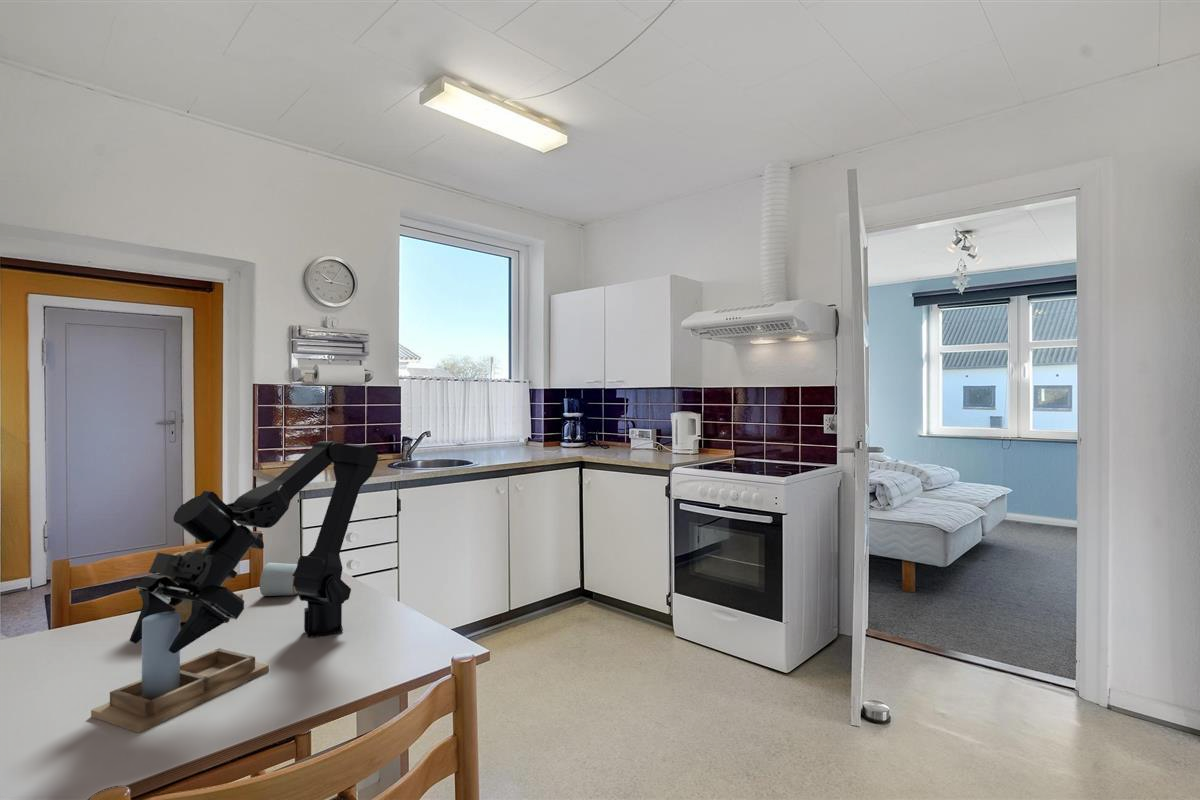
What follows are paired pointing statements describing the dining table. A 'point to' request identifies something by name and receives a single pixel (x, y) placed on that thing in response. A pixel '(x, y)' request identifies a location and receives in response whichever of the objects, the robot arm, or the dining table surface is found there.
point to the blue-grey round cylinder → (160, 654)
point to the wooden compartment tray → (180, 690)
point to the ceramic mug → (278, 579)
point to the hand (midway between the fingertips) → (151, 647)
